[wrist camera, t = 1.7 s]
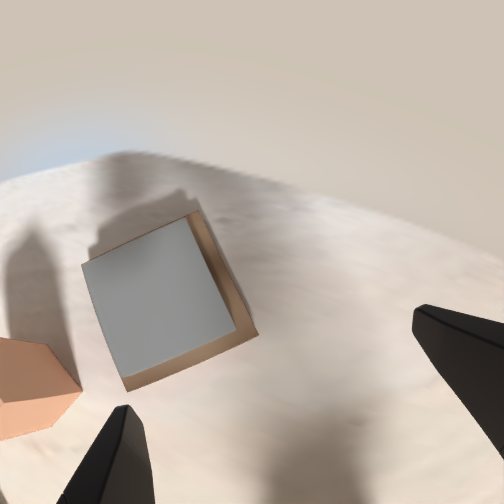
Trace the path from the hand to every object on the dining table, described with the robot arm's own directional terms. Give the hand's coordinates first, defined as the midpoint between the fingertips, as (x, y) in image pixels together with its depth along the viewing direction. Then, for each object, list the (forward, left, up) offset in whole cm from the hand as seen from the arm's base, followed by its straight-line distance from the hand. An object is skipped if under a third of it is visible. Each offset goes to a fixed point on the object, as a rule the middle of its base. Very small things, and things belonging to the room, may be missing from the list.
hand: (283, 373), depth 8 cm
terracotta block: (-8, +15, -14) cm, 22 cm away
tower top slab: (+2, +8, -12) cm, 15 cm away
